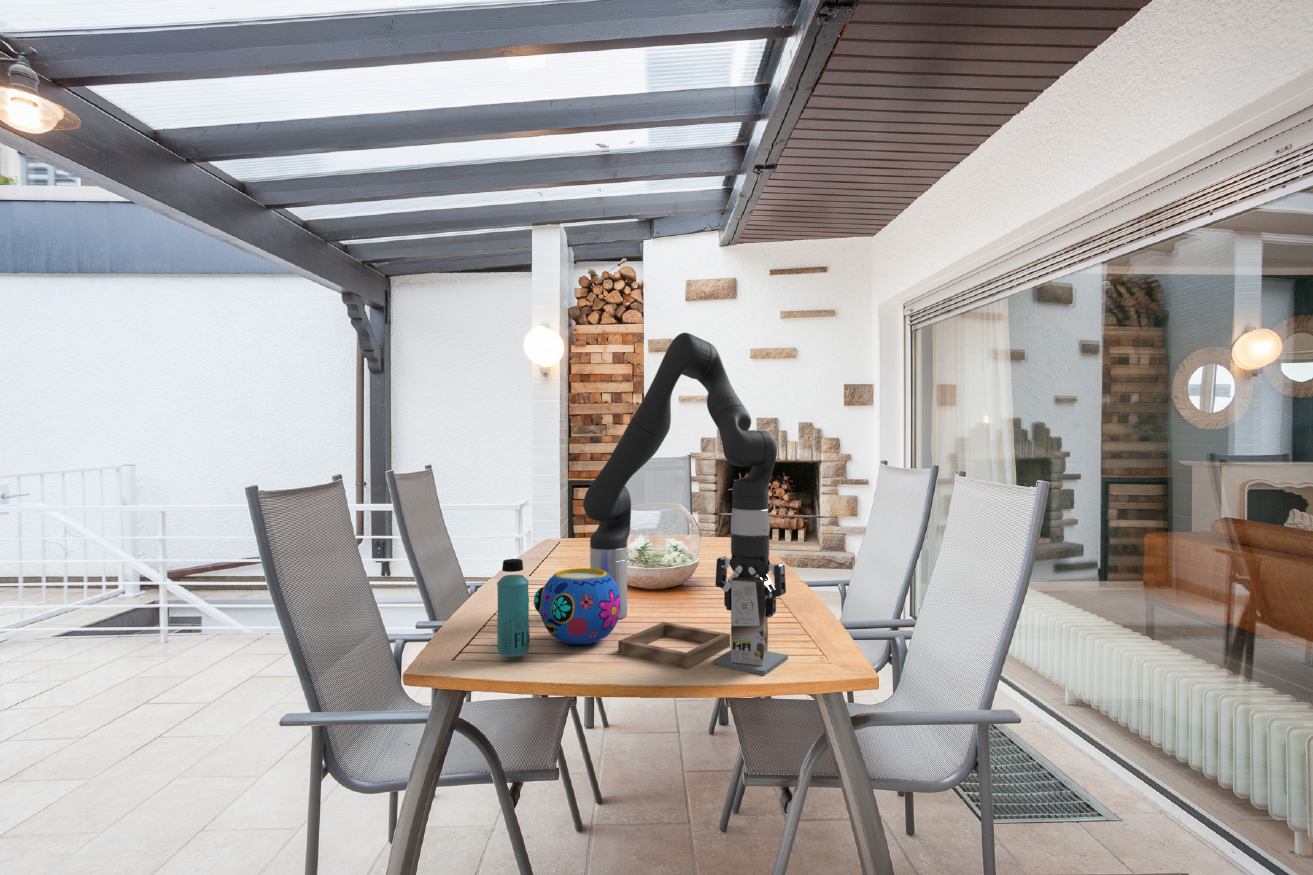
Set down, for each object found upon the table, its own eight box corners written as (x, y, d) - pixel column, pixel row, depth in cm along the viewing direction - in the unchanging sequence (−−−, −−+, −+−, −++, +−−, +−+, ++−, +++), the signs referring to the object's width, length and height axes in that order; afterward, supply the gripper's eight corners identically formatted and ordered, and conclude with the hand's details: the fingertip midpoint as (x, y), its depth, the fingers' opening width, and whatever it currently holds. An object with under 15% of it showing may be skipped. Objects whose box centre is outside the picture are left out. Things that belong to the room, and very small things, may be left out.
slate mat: (712, 664, 128) (712, 659, 128) (738, 649, 137) (738, 645, 137) (764, 675, 122) (764, 671, 122) (787, 658, 131) (787, 654, 131)
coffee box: (763, 666, 124) (763, 581, 124) (730, 663, 126) (729, 579, 126) (769, 651, 133) (768, 572, 133) (737, 648, 135) (737, 570, 135)
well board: (618, 653, 135) (618, 640, 135) (663, 632, 149) (663, 621, 149) (688, 669, 125) (688, 656, 125) (730, 645, 139) (730, 634, 139)
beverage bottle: (513, 666, 127) (513, 563, 127) (489, 660, 130) (489, 560, 130) (536, 657, 132) (536, 558, 132) (512, 651, 136) (512, 555, 136)
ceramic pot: (525, 639, 144) (525, 571, 144) (594, 625, 155) (593, 562, 155) (564, 660, 130) (564, 585, 130) (637, 643, 141) (636, 574, 141)
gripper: (709, 530, 130) (709, 611, 130) (775, 536, 122) (775, 623, 122) (727, 526, 136) (726, 603, 136) (791, 532, 128) (791, 614, 128)
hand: (749, 612), depth 129 cm, fingers open, 8 cm apart
